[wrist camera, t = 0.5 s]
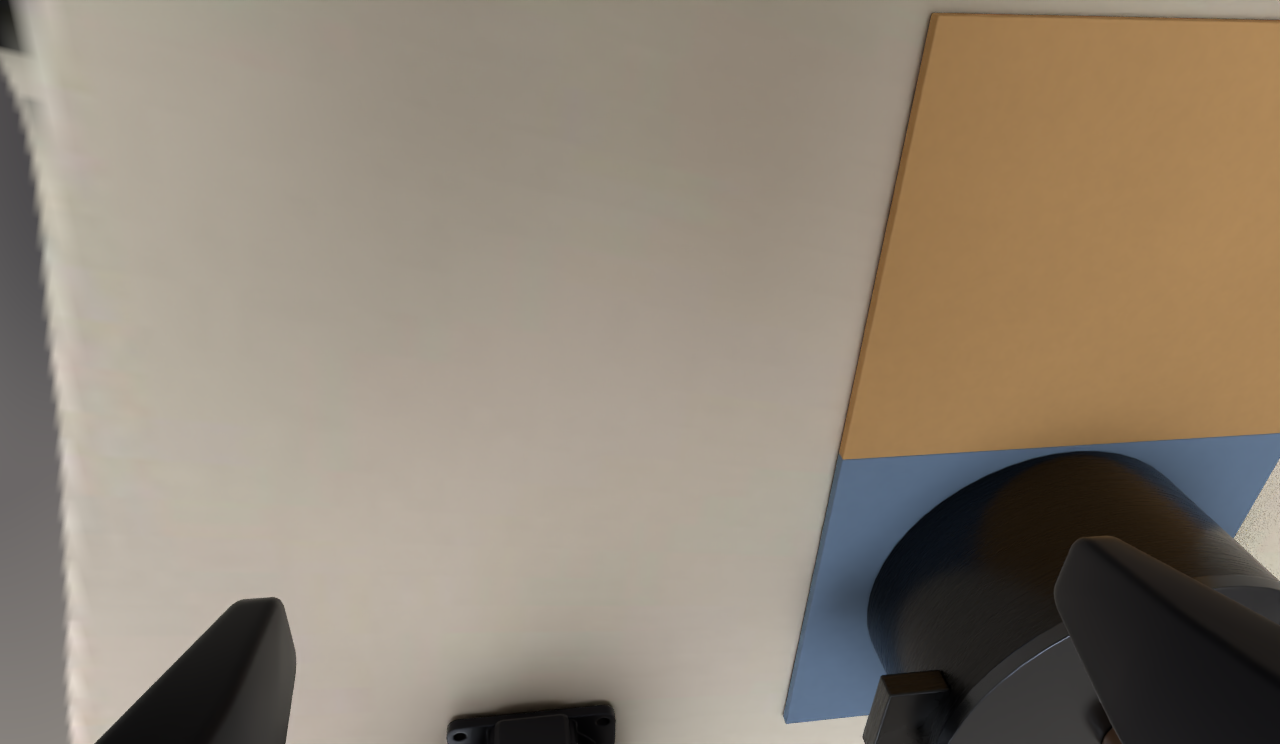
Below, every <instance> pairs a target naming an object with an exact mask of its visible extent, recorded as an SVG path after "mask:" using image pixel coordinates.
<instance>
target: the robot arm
mask: <svg viewBox="0 0 1280 744" xmlns="http://www.w3.org/2000/svg"><path fill="white" fill-rule="evenodd" d="M1054 600H1055V604H1056V607H1057V610H1058V612H1059V614H1060V616H1061V618H1062V620H1063V623H1064V625H1065V627H1066V629H1067V631H1068V633H1069V636H1070V638H1071V640H1072V642H1073V644H1074V646H1075V648H1076V651H1077V653H1078V655H1079V657H1080V659H1081V661H1082V663H1083V666H1084V668H1085V670H1086V672H1087V674H1088V676H1089V678H1090V681H1091V683H1092V685H1093V687H1094V689H1095V691H1096V694H1097V696H1098V698H1099V700H1100V702H1101V704H1102V706H1103V708H1104V710H1105V712H1106V714H1107V716H1108V718H1109V720H1110V722H1111V725H1112V727H1113V728H1114V730H1115V732H1116V734H1117V736H1118V737H1119V739H1120V741H1121V743H1122V744H1280V625H1279V624H1277V623H1275V622H1273V621H1271V620H1269V619H1268V618H1266V617H1264V616H1262V615H1260V614H1258V613H1256V612H1255V611H1253V610H1251V609H1249V608H1247V607H1245V606H1243V605H1241V604H1240V603H1238V602H1236V601H1234V600H1232V599H1230V598H1228V597H1227V596H1225V595H1223V594H1221V593H1219V592H1217V591H1215V590H1213V589H1212V588H1210V587H1208V586H1206V585H1204V584H1202V583H1200V582H1199V581H1197V580H1195V579H1193V578H1191V577H1189V576H1187V575H1185V574H1184V573H1182V572H1180V571H1178V570H1176V569H1174V568H1172V567H1171V566H1169V565H1167V564H1165V563H1163V562H1161V561H1159V560H1157V559H1156V558H1154V557H1152V556H1150V555H1148V554H1146V553H1144V552H1143V551H1141V550H1139V549H1137V548H1135V547H1133V546H1131V545H1129V544H1128V543H1126V542H1124V541H1122V540H1120V539H1118V538H1116V537H1112V536H1095V537H1083V538H1079V539H1078V540H1076V541H1075V542H1074V543H1073V544H1072V546H1071V548H1070V550H1069V553H1068V555H1067V557H1066V560H1065V562H1064V565H1063V567H1062V569H1061V572H1060V574H1059V576H1058V579H1057V581H1056V584H1055V587H1054ZM295 674H296V652H295V647H294V643H293V639H292V636H291V632H290V628H289V624H288V620H287V616H286V612H285V608H284V605H283V604H282V602H281V600H280V599H278V598H274V597H269V598H256V599H243V600H240V601H237V602H236V603H234V604H233V605H232V606H230V607H229V608H228V609H227V610H226V611H225V612H224V613H223V614H222V615H221V616H220V617H219V618H218V619H217V620H216V622H215V623H214V624H213V625H212V626H211V627H210V628H209V629H208V630H207V631H206V632H205V633H204V634H203V635H202V636H201V637H200V638H199V639H198V640H197V641H196V642H195V643H194V644H193V645H192V646H191V647H190V648H189V649H188V650H187V651H186V652H185V653H184V654H183V655H182V656H181V657H180V658H179V659H178V660H177V661H176V662H175V663H174V664H173V665H172V666H171V667H170V668H169V669H168V670H167V671H166V672H165V673H164V674H163V675H162V676H161V677H160V678H159V679H158V680H157V681H156V682H155V683H154V684H153V685H152V686H151V687H150V688H149V689H148V690H147V691H146V692H145V693H144V694H143V695H142V696H141V697H140V698H139V699H138V700H137V701H136V702H135V703H134V704H133V705H132V706H131V707H130V708H129V709H128V710H127V711H126V712H125V713H124V714H123V715H122V716H121V717H120V719H119V720H118V721H117V722H116V723H115V724H114V725H113V726H112V727H111V728H110V729H109V730H108V731H107V732H106V733H105V734H104V735H103V736H102V737H101V738H100V739H99V740H98V741H97V742H96V743H95V744H285V743H286V736H287V729H288V722H289V715H290V709H291V702H292V695H293V688H294V681H295ZM615 723H616V720H615V713H614V709H613V708H612V707H611V706H608V705H598V706H588V707H578V708H568V709H558V710H548V711H538V712H529V713H519V714H509V715H499V716H489V717H479V718H469V719H460V720H455V721H453V722H451V723H450V724H449V725H448V728H447V744H615Z"/></svg>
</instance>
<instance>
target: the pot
mask: <svg viewBox="0 0 1280 744" xmlns="http://www.w3.org/2000/svg"><path fill="white" fill-rule="evenodd" d="M1095 536H1112V537H1116V538H1118V539H1120V540H1122V541H1124V542H1126V543H1128V544H1129V545H1131V546H1133V547H1135V548H1137V549H1139V550H1141V551H1143V552H1144V553H1146V554H1148V555H1150V556H1152V557H1154V558H1156V559H1157V560H1159V561H1161V562H1163V563H1165V564H1167V565H1169V566H1171V567H1172V568H1174V569H1176V570H1178V571H1180V572H1182V573H1184V574H1185V575H1187V576H1189V577H1191V578H1193V579H1195V580H1197V581H1199V582H1200V583H1202V584H1204V585H1206V586H1208V587H1210V588H1212V589H1213V590H1215V591H1217V592H1219V593H1221V594H1223V595H1225V596H1227V597H1228V598H1230V599H1232V600H1234V601H1236V602H1238V603H1240V604H1241V605H1243V606H1245V607H1247V608H1249V609H1251V610H1253V611H1255V612H1256V613H1258V614H1260V615H1262V616H1264V617H1266V618H1268V619H1269V620H1271V621H1273V622H1275V623H1277V624H1279V625H1280V581H1279V580H1278V579H1277V578H1276V577H1275V576H1273V575H1272V574H1271V573H1270V572H1269V571H1268V570H1267V569H1266V568H1265V567H1264V566H1263V565H1262V564H1260V563H1259V562H1258V561H1257V560H1256V559H1255V558H1254V557H1253V556H1252V555H1251V554H1250V553H1248V552H1247V551H1246V550H1245V549H1244V548H1243V547H1242V546H1241V545H1240V544H1239V543H1238V542H1236V541H1235V540H1234V539H1233V538H1232V537H1231V536H1230V535H1229V534H1228V533H1227V532H1226V531H1225V530H1223V529H1222V528H1221V527H1220V526H1219V525H1218V524H1217V523H1216V522H1215V521H1214V520H1213V519H1211V518H1210V517H1209V516H1208V515H1207V514H1206V513H1205V512H1204V511H1203V510H1202V509H1201V508H1199V507H1198V506H1197V505H1196V504H1195V503H1194V502H1193V501H1192V500H1191V499H1190V498H1189V497H1187V496H1186V495H1185V494H1184V493H1183V492H1182V491H1181V490H1180V489H1179V488H1178V487H1177V486H1176V485H1174V484H1173V483H1172V482H1171V481H1170V480H1169V479H1168V478H1167V477H1166V476H1165V475H1163V474H1162V473H1161V472H1159V471H1158V470H1157V469H1155V468H1154V467H1152V466H1151V465H1148V464H1146V463H1144V462H1142V461H1140V460H1138V459H1135V458H1131V457H1128V456H1124V455H1120V454H1116V453H1107V452H1099V451H1077V452H1068V453H1060V454H1053V455H1048V456H1044V457H1039V458H1035V459H1031V460H1027V461H1024V462H1021V463H1018V464H1015V465H1012V466H1009V467H1006V468H1004V469H1002V470H999V471H997V472H994V473H992V474H990V475H987V476H985V477H983V478H981V479H979V480H978V481H976V482H974V483H972V484H970V485H968V486H966V487H964V488H963V489H961V490H960V491H958V492H957V493H955V494H953V495H952V496H950V497H949V498H947V499H946V500H944V501H943V502H941V503H940V504H939V505H938V506H936V507H935V508H934V509H932V510H931V511H930V512H929V513H927V514H926V515H925V516H924V517H923V518H922V519H921V520H920V521H918V522H917V523H916V524H915V525H914V526H913V527H912V528H911V529H910V530H909V531H908V532H907V533H906V534H905V536H904V537H903V538H902V539H901V540H900V541H899V542H898V544H897V545H896V546H895V547H894V549H893V550H892V552H891V553H890V554H889V556H888V557H887V559H886V560H885V562H884V563H883V565H882V567H881V569H880V571H879V573H878V575H877V577H876V579H875V581H874V584H873V587H872V590H871V593H870V596H869V602H868V607H867V627H868V632H869V637H870V640H871V642H872V645H873V647H874V649H875V651H876V653H877V655H878V658H879V660H880V662H881V664H882V666H883V668H884V670H885V672H886V674H887V675H882V676H880V680H879V683H878V686H877V690H876V693H875V696H874V699H873V703H872V706H871V709H870V713H869V716H868V719H867V723H866V726H865V729H864V733H863V740H864V742H865V744H1122V743H1121V741H1120V739H1119V737H1118V736H1117V734H1116V732H1115V730H1114V728H1113V727H1112V725H1111V722H1110V720H1109V718H1108V716H1107V714H1106V712H1105V710H1104V708H1103V706H1102V704H1101V702H1100V700H1099V698H1098V696H1097V694H1096V691H1095V689H1094V687H1093V685H1092V683H1091V681H1090V678H1089V676H1088V674H1087V672H1086V670H1085V668H1084V666H1083V663H1082V661H1081V659H1080V657H1079V655H1078V653H1077V651H1076V648H1075V646H1074V644H1073V642H1072V640H1071V638H1070V636H1069V633H1068V631H1067V629H1066V627H1065V625H1064V623H1063V620H1062V618H1061V616H1060V614H1059V612H1058V610H1057V607H1056V604H1055V600H1054V587H1055V584H1056V581H1057V579H1058V576H1059V574H1060V572H1061V569H1062V567H1063V565H1064V562H1065V560H1066V557H1067V555H1068V553H1069V550H1070V548H1071V546H1072V544H1073V543H1074V542H1075V541H1076V540H1078V539H1079V538H1083V537H1095Z"/></svg>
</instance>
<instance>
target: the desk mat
mask: <svg viewBox="0 0 1280 744" xmlns="http://www.w3.org/2000/svg"><path fill="white" fill-rule="evenodd" d="M1077 451H1099V452H1107V453H1116V454H1120V455H1124V456H1128V457H1131V458H1135V459H1138V460H1140V461H1142V462H1144V463H1146V464H1148V465H1151V466H1152V467H1154V468H1155V469H1157V470H1158V471H1159V472H1161V473H1162V474H1163V475H1165V476H1166V477H1167V478H1168V479H1169V480H1170V481H1171V482H1172V483H1173V484H1174V485H1176V486H1177V487H1178V488H1179V489H1180V490H1181V491H1182V492H1183V493H1184V494H1185V495H1186V496H1187V497H1189V498H1190V499H1191V500H1192V501H1193V502H1194V503H1195V504H1196V505H1197V506H1198V507H1199V508H1201V509H1202V510H1203V511H1204V512H1205V513H1206V514H1207V515H1208V516H1209V517H1210V518H1211V519H1213V520H1214V521H1215V522H1216V523H1217V524H1218V525H1219V526H1220V527H1221V528H1222V529H1223V530H1225V531H1226V532H1227V533H1228V534H1229V535H1230V536H1231V537H1232V538H1234V537H1235V535H1236V533H1237V532H1238V530H1239V528H1240V526H1241V525H1242V523H1243V521H1244V519H1245V518H1246V516H1247V514H1248V512H1249V511H1250V509H1251V507H1252V505H1253V504H1254V502H1255V500H1256V498H1257V497H1258V495H1259V493H1260V492H1261V490H1262V488H1263V486H1264V485H1265V483H1266V481H1267V479H1268V478H1269V476H1270V474H1271V472H1272V471H1273V469H1274V467H1275V465H1276V464H1277V462H1278V460H1279V458H1280V20H1244V19H1198V18H1151V17H1105V16H1059V15H1013V14H967V13H932V15H931V19H930V24H929V29H928V33H927V38H926V43H925V48H924V52H923V57H922V62H921V66H920V71H919V76H918V81H917V85H916V90H915V95H914V100H913V104H912V109H911V114H910V119H909V123H908V128H907V133H906V138H905V142H904V147H903V152H902V156H901V161H900V166H899V171H898V175H897V180H896V185H895V190H894V194H893V199H892V204H891V209H890V213H889V218H888V223H887V227H886V232H885V237H884V242H883V246H882V251H881V256H880V261H879V265H878V270H877V275H876V280H875V284H874V289H873V294H872V299H871V303H870V308H869V313H868V317H867V322H866V327H865V332H864V336H863V341H862V346H861V351H860V355H859V360H858V365H857V370H856V374H855V379H854V384H853V389H852V393H851V398H850V403H849V407H848V412H847V417H846V422H845V426H844V431H843V436H842V441H841V445H840V450H839V455H838V460H837V464H836V469H835V474H834V478H833V483H832V488H831V493H830V497H829V502H828V507H827V512H826V516H825V521H824V526H823V531H822V535H821V540H820V545H819V550H818V554H817V559H816V564H815V568H814V573H813V578H812V583H811V587H810V592H809V597H808V602H807V606H806V611H805V616H804V621H803V625H802V630H801V635H800V640H799V644H798V649H797V654H796V658H795V663H794V668H793V673H792V677H791V682H790V687H789V692H788V696H787V701H786V706H785V711H784V715H783V717H784V720H785V723H786V724H789V723H798V722H808V721H817V720H826V719H835V718H845V717H854V716H863V715H869V713H870V709H871V706H872V703H873V699H874V696H875V693H876V690H877V686H878V683H879V680H880V676H882V675H887V674H886V672H885V670H884V668H883V666H882V664H881V662H880V660H879V658H878V655H877V653H876V651H875V649H874V647H873V645H872V642H871V640H870V637H869V632H868V627H867V607H868V602H869V596H870V593H871V590H872V587H873V584H874V581H875V579H876V577H877V575H878V573H879V571H880V569H881V567H882V565H883V563H884V562H885V560H886V559H887V557H888V556H889V554H890V553H891V552H892V550H893V549H894V547H895V546H896V545H897V544H898V542H899V541H900V540H901V539H902V538H903V537H904V536H905V534H906V533H907V532H908V531H909V530H910V529H911V528H912V527H913V526H914V525H915V524H916V523H917V522H918V521H920V520H921V519H922V518H923V517H924V516H925V515H926V514H927V513H929V512H930V511H931V510H932V509H934V508H935V507H936V506H938V505H939V504H940V503H941V502H943V501H944V500H946V499H947V498H949V497H950V496H952V495H953V494H955V493H957V492H958V491H960V490H961V489H963V488H964V487H966V486H968V485H970V484H972V483H974V482H976V481H978V480H979V479H981V478H983V477H985V476H987V475H990V474H992V473H994V472H997V471H999V470H1002V469H1004V468H1006V467H1009V466H1012V465H1015V464H1018V463H1021V462H1024V461H1027V460H1031V459H1035V458H1039V457H1044V456H1048V455H1053V454H1060V453H1068V452H1077Z"/></svg>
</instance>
